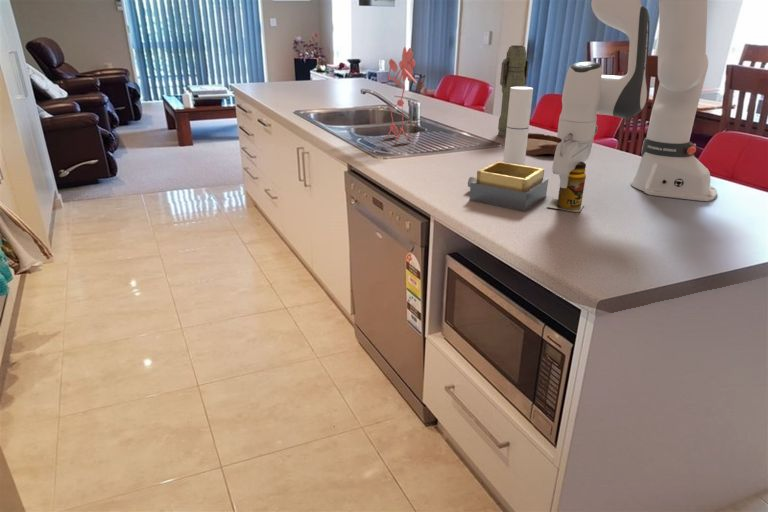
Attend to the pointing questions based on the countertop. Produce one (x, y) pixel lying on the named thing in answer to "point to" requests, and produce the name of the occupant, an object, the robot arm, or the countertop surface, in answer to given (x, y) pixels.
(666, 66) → the robot arm
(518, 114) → the cylindrical container
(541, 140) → the basket
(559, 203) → the condiment
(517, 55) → the green stone statue
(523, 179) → the grey and gold box
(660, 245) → the countertop surface
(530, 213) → the countertop surface
